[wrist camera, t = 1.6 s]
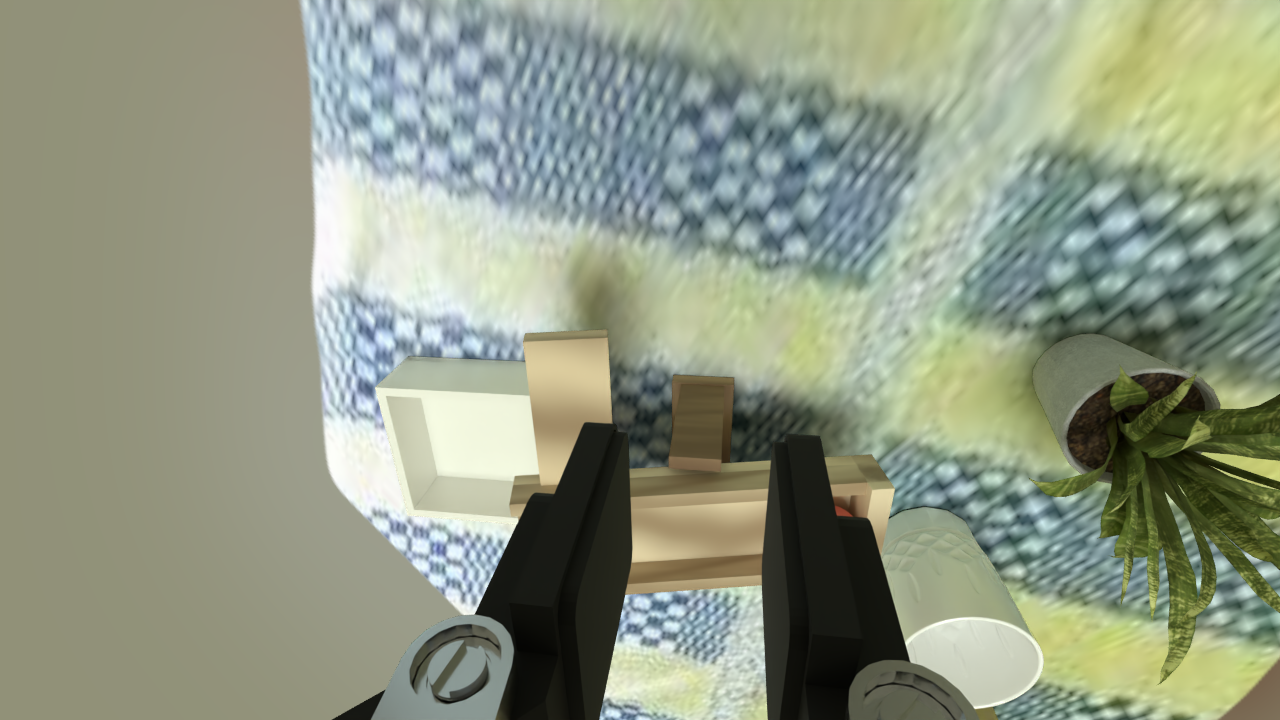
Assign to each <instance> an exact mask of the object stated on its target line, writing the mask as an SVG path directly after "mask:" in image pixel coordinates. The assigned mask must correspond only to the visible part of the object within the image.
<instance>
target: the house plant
mask: <svg viewBox="0 0 1280 720" xmlns="http://www.w3.org/2000/svg"><path fill="white" fill-rule="evenodd" d="M1196 372H1197V371H1196ZM1033 385H1034V390H1035V392H1036V394H1037V397H1038V399H1039V401H1040V403H1041V405H1042V407H1043V409H1044V412H1045V414H1046V416H1047V418H1048V421H1049V423H1050V425H1051V427H1052V429H1053V432H1054V434H1055V436H1056V438H1057V441H1058V443H1059V445H1060V447H1061V449H1062V452H1063V454H1064V455H1065V457H1066V459H1067V460H1068V462H1069V464H1070V465H1071V466H1072V467H1073V468H1075V469H1076V470H1077V471H1078V472H1079V473H1081V474H1082V475H1079V476H1075V477H1071V478H1067V479H1063V480H1059V481H1055V482H1036V481H1034V480H1032V479H1030V478H1029V479H1030V480H1031V481H1032V482H1034V483H1035V484H1036V485H1037V486H1038V487H1039V488H1040V489H1041V490H1042V491H1043V492H1044V493H1045V494H1046V495H1050V496H1054V497H1067V496H1070V495H1073V494H1076V493H1078V492H1080V491H1082V490H1084V489H1086V488H1087V487H1089V486H1090V485H1092V484H1094V483H1095V482H1096V481H1100V482H1105V483H1111V484H1112V486H1111V491H1110V494H1109V497H1108V500H1107V502H1106V505H1105V507H1104V510H1103V513H1102V516H1101V535H1100V537H1099V538H1105V537H1111V536H1116V535H1120V536H1119V538H1118V540H1117V542H1116V544H1115V549H1114V552H1115V556H1111V557H1115V558H1125V560H1124V576H1123V584H1122V595H1121V604H1122V601H1123V598H1124V596H1125V593H1126V589H1127V585H1128V582H1129V578H1130V574H1131V571H1132V566H1133V558H1134V557H1146V556H1148V558H1147V575H1148V584H1149V596H1150V609H1151V619H1152V618H1153V614H1154V611H1155V607H1156V600H1157V593H1158V590H1159V581H1160V580H1159V550H1161V549H1162V547H1163V551H1164V556H1165V561H1166V566H1167V573H1168V581H1169V596H1170V609H1169V622H1168V632H1169V652H1168V656H1167V658H1166V660H1165V663H1164V665H1163V667H1162V669H1161V679H1160V683H1162V682H1163V681H1164V680H1166V678H1167V677H1168V676H1169V675H1170V674H1171V673H1172V672H1173V671H1174V670H1175V669H1176V668H1177V667H1178V666H1179V665H1180V663H1181V662H1182V660H1183V658H1184V657H1185V655H1186V653H1187V652H1188V650H1189V648H1190V645H1191V642H1192V638H1193V635H1194V632H1195V624H1196V615H1198V614H1199V613H1200V612H1202V611H1203V610H1204V609H1205V608H1206V607H1207V606H1208V605H1209V604H1210V603H1211V601H1212V598H1213V596H1214V593H1215V591H1216V578H1217V577H1216V568H1215V563H1214V560H1213V556H1212V553H1211V550H1210V548H1209V545H1208V543H1207V541H1206V539H1205V537H1204V535H1203V533H1202V532H1204V533H1205V534H1206V535H1207V536H1208V537H1209V539H1210V540H1211V541H1212V542H1213V543H1214V544H1215V545H1216V547H1217V548H1218V549H1219V550H1220V551H1221V552H1222V554H1223V555H1224V556H1225V557H1226V558H1227V559H1228V561H1229V562H1230V563H1231V564H1232V565H1233V567H1234V568H1235V569H1236V570H1237V571H1238V573H1239V574H1240V575H1241V576H1242V578H1243V579H1244V580H1245V581H1246V582H1247V584H1248V585H1249V586H1250V587H1251V588H1252V590H1253V591H1254V592H1255V593H1256V594H1257V595H1258V596H1259V597H1260V598H1261V599H1262V600H1264V601H1265V602H1266V603H1267V604H1268V605H1270V606H1271V607H1272V608H1274V609H1275V610H1276V611H1278V612H1279V613H1280V597H1279V596H1278V594H1277V593H1276V592H1275V591H1274V590H1273V588H1272V587H1271V586H1270V585H1269V584H1268V583H1267V582H1266V580H1265V579H1264V578H1263V577H1262V576H1261V574H1260V573H1259V572H1258V571H1257V570H1256V568H1255V567H1254V566H1253V565H1252V564H1251V562H1250V561H1249V560H1248V559H1247V558H1246V556H1245V555H1244V554H1243V553H1242V552H1241V550H1240V549H1238V548H1237V547H1236V546H1235V545H1234V544H1233V543H1232V542H1234V543H1235V544H1236V545H1237V546H1238V547H1240V548H1241V549H1242V550H1244V551H1245V552H1247V553H1248V554H1250V555H1251V556H1253V557H1255V558H1257V559H1260V560H1263V561H1267V562H1272V563H1273V564H1274V565H1275V566H1276V567H1277V568H1278V569H1279V570H1280V536H1278V535H1277V534H1275V533H1274V532H1273V531H1272V530H1271V529H1270V528H1269V527H1268V526H1267V525H1266V524H1265V523H1264V521H1263V520H1262V519H1261V518H1264V519H1267V520H1269V519H1276V518H1278V517H1280V482H1279V481H1275V480H1272V479H1269V478H1266V477H1263V476H1260V475H1257V474H1254V473H1251V472H1248V471H1245V470H1242V469H1239V468H1236V467H1233V466H1230V465H1227V464H1225V463H1222V462H1219V461H1216V460H1213V459H1211V458H1208V457H1206V456H1204V455H1201V453H1202V452H1209V453H1220V454H1231V455H1239V456H1245V457H1251V458H1258V459H1268V460H1278V461H1280V394H1279V395H1278V396H1276V397H1274V398H1273V399H1271V400H1269V401H1267V402H1265V403H1263V404H1261V405H1259V406H1255V407H1250V408H1246V409H1220V403H1219V400H1218V398H1217V396H1216V394H1215V392H1214V390H1213V389H1212V388H1211V387H1210V386H1209V385H1208V384H1207V383H1206V382H1205V381H1204V380H1203V379H1202V378H1199V377H1197V376H1196V374H1195V375H1193V374H1191V373H1188V372H1186V371H1184V370H1182V369H1180V368H1177V367H1175V366H1173V365H1171V364H1168V363H1166V362H1164V361H1161V360H1159V359H1157V358H1155V357H1152V356H1150V355H1148V354H1146V353H1143V352H1141V351H1139V350H1137V349H1134V348H1132V347H1130V346H1128V345H1125V344H1123V343H1121V342H1119V341H1116V340H1114V339H1112V338H1110V337H1107V336H1105V335H1099V334H1080V335H1076V336H1072V337H1068V338H1066V339H1064V340H1062V341H1060V342H1058V343H1056V344H1054V345H1053V346H1052V347H1050V348H1049V349H1048V350H1046V351H1045V352H1044V353H1043V355H1042V356H1041V357H1040V358H1039V359H1038V361H1037V363H1036V365H1035V367H1034V369H1033ZM1209 465H1210V466H1209ZM1211 466H1212V467H1211ZM1213 467H1215V468H1217V469H1220V470H1222V471H1225V472H1228V473H1230V474H1233V475H1236V476H1239V477H1242V478H1244V479H1247V480H1250V481H1254V482H1257V483H1260V484H1263V485H1267V486H1270V487H1273V488H1275V489H1278V490H1275V489H1270V488H1265V487H1261V486H1258V485H1255V484H1251V483H1248V482H1245V481H1242V480H1239V479H1236V478H1233V477H1230V476H1228V475H1226V474H1224V473H1222V472H1220V471H1219V470H1217V469H1215V468H1213ZM1177 483H1178V484H1177ZM1178 485H1179V486H1180V487H1181V488H1182V490H1183V491H1184V493H1185V495H1186V496H1187V497H1186V496H1185V495H1184V494H1183V493H1182V491H1181V489H1180V487H1179V486H1178ZM1165 492H1166V493H1167V494H1168V496H1169V497H1170V498H1171V499H1172V500H1173V501H1174V503H1175V504H1176V505H1177V506H1178V507H1179V508H1180V509H1181V510H1182V511H1183V512H1184V513H1185V515H1186V516H1187V518H1188V520H1189V522H1190V525H1191V528H1192V530H1193V533H1194V536H1195V539H1196V542H1197V545H1198V548H1199V552H1200V557H1201V562H1202V581H1201V589H1200V595H1199V598H1198V600H1197V587H1196V578H1195V574H1194V572H1193V569H1192V567H1191V564H1190V562H1189V559H1188V557H1187V554H1186V551H1185V548H1184V545H1183V542H1182V538H1181V535H1180V532H1179V529H1178V526H1177V524H1176V521H1175V518H1174V515H1173V513H1172V510H1171V508H1170V505H1169V503H1168V500H1167V498H1166V494H1165ZM1260 517H1261V518H1260ZM1221 531H1222V532H1223V533H1224V534H1225V535H1226V536H1227V537H1228V538H1229V539H1230V540H1231V541H1232V542H1231V541H1230V540H1229V539H1228V538H1227V537H1226V536H1225V535H1224V534H1223V533H1222V532H1221ZM1160 683H1159V684H1160ZM1159 684H1158V685H1159Z"/></svg>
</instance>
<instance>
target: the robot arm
mask: <svg viewBox="0 0 1280 720" xmlns="http://www.w3.org/2000/svg"><path fill="white" fill-rule="evenodd" d="M632 550H633V545H632V520H631V495H630V470H629V445H628V434H627V433H626V432H618V430H617V425H616V424H612V423H595V422H585V423H584V424H583V426H582V428H581V431H580V433H579V436H578V438H577V440H576V443H575V445H574V448H573V450H572V452H571V455H570V457H569V460H568V462H567V464H566V467H565V469H564V472H563V474H562V476H561V479H560V481H559V484H558V486H557V488H556V491H555V493H554V494H550V493H537V492H535V493H534V494H532V495H531V497H530V498H529V500H528V502H527V504H526V506H525V508H524V510H523V513H522V515H521V517H520V519H519V521H518V523H517V525H516V527H515V530H514V532H513V534H512V536H511V538H510V540H509V542H508V545H507V547H506V549H505V551H504V553H503V555H502V557H501V560H500V562H499V564H498V566H497V568H496V570H495V572H494V574H493V577H492V579H491V581H490V583H489V585H488V587H487V589H486V592H485V594H484V596H483V598H482V600H481V602H480V604H479V607H478V609H477V611H476V613H475V615H461V616H456V617H453V618H450V619H447V620H444V621H441V622H439V623H438V624H436V625H434V626H432V627H431V628H429V629H427V630H426V631H424V632H423V633H422V634H421V635H420V636H419V637H418V638H417V639H415V640H414V641H413V642H412V643H411V645H410V646H409V648H408V649H407V651H406V652H405V654H404V655H403V657H402V658H401V660H400V662H399V664H398V666H397V668H396V670H395V672H394V674H393V676H392V678H391V680H390V683H389V684H388V686H387V688H386V690H384V691H382V692H380V693H379V694H377V695H375V696H373V697H372V698H370V699H368V700H366V701H364V702H363V703H361V704H359V705H357V706H355V707H354V708H352V709H350V710H348V711H347V712H345V713H343V714H341V715H340V716H338V717H336V718H334V719H332V720H599V717H600V713H601V708H602V703H603V698H604V693H605V689H606V684H607V679H608V674H609V670H610V665H611V660H612V655H613V650H614V646H615V641H616V636H617V631H618V626H619V622H620V617H621V612H622V607H623V603H624V598H625V593H626V588H627V583H628V579H629V574H630V569H631V563H632ZM762 598H763V621H764V644H765V667H766V690H767V713H768V720H980V719H979V717H978V715H977V713H976V711H975V709H974V707H973V706H972V705H971V703H970V702H969V701H968V700H967V698H966V697H965V696H964V695H963V694H962V692H961V691H960V690H959V689H958V688H956V687H955V686H954V685H953V684H951V683H950V682H949V681H948V680H947V679H945V678H944V677H943V676H941V675H939V674H937V673H936V672H934V671H932V670H930V669H928V668H926V667H924V666H922V665H918V664H914V663H911V662H910V659H909V655H908V651H907V648H906V644H905V641H904V637H903V634H902V630H901V627H900V623H899V619H898V616H897V612H896V609H895V605H894V602H893V598H892V594H891V591H890V587H889V584H888V580H887V577H886V573H885V570H884V566H883V562H882V559H881V555H880V552H879V548H878V545H877V541H876V538H875V534H874V530H873V527H872V525H871V522H870V520H869V519H868V518H863V517H850V516H837V514H836V509H835V505H834V500H833V495H832V490H831V486H830V481H829V476H828V471H827V467H826V462H825V457H824V453H823V448H822V443H821V439H820V436H815V435H798V434H786V436H785V441H784V442H773V445H772V454H771V465H770V476H769V488H768V499H767V510H766V521H765V532H764V543H763V554H762Z"/></svg>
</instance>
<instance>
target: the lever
mask: <svg viewBox="0 0 1280 720" xmlns="http://www.w3.org/2000/svg"><path fill="white" fill-rule="evenodd" d="M523 346H524V354H525V362H526V370H527V378H528V386H529V395H530V403H531V411H532V419H533V427H534V435H535V443H536V451H537V459H538V467H539V474H537V475H520V476H515V477H514V482H513V488H512V493H511V498H510V503H509V507H510V513H511V517H517V516H518V521H519V519H520V517H521V515H522V513H523V510H524V508H525V506H526V504H527V502H528V500H529V498H530V497H531V495H532V494H534V493H535V492H537V493H550V494H554V493H555V491H556V488H557V486H558V484H559V481H560V479H561V476H562V474H563V472H564V469H565V467H566V464H567V462H568V460H569V457H570V455H571V452H572V450H573V448H574V445H575V443H576V440H577V438H578V436H579V433H580V431H581V428H582V426H583V424H584V423H585V422H595V423H612V406H611V387H610V369H609V350H608V331H607V329H604V330H584V331H563V332H543V333H525V336H524V340H523ZM825 462H826V467H827V471H828V476H829V481H830V486H831V490H832V495H833V500H834V505H835V506H838V507H841V508H842V509H844V510H846V511H847V512H849V513H850V514H851V515H852V516H853V517H863V518H868V519H869V520H870V522H871V525H872V527H873V530H874V534H875V538H876V541H877V545H878V548H879V552H880V555H881V553H882V548H883V543H884V539H885V534H886V529H887V524H888V519H889V515H890V510H891V505H892V500H893V495H894V491H895V488H894V486H893V485H892V483H891V482H890V481H889V479H888V478H887V476H886V475H885V473H884V472H883V470H882V469H881V467H880V466H879V465H878V463H877V462H876V460H875V459H874V457H873V456H872V454H871V455H855V456H838V457H825ZM770 465H771V461H754V462H737V463H721V472H714V471H700V470H685V469H671V468H669V467H654V468H637V469H629V470H630V495H631V520H632V545H633V550H632V563H631V569H630V574H629V579H628V583H627V588H626V593H625V595H628V594H642V593H657V592H671V591H685V590H700V589H714V588H728V587H743V586H757V585H762V554H763V543H764V532H765V521H766V510H767V499H768V488H769V476H770Z"/></svg>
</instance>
